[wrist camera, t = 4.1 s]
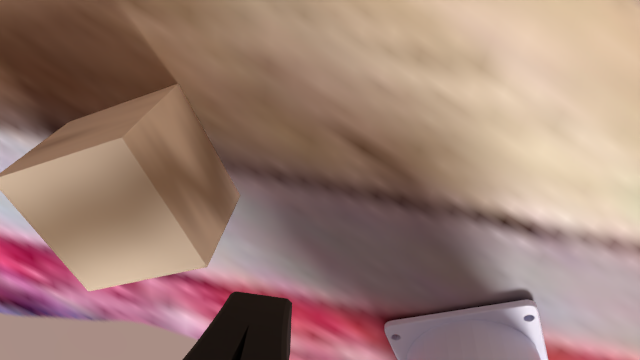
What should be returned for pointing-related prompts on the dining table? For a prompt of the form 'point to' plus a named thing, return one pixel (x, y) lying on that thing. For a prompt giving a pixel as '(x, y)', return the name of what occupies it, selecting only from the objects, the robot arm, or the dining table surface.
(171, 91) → the ash block
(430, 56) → the dining table surface
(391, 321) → the robot arm
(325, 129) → the dining table surface
